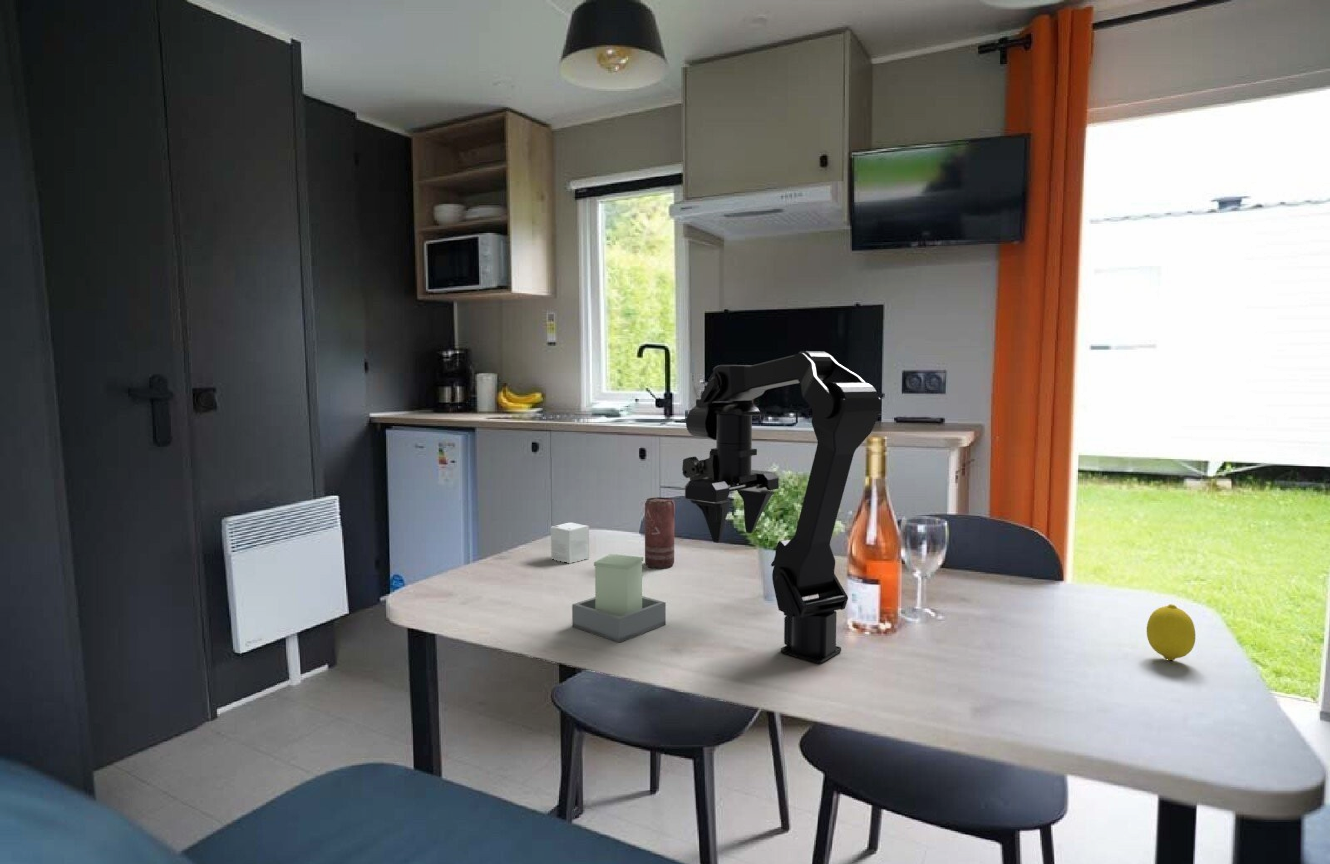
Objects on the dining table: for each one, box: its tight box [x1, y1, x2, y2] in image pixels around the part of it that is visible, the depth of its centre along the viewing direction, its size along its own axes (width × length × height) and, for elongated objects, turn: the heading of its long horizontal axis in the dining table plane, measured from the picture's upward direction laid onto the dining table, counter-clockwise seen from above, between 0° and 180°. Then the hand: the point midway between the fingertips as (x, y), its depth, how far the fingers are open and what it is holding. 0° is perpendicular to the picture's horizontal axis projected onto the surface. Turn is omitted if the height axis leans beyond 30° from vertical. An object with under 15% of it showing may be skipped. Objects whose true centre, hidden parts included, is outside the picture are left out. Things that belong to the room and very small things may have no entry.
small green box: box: [593, 553, 644, 617], centre depth 114 cm, size 6×6×10 cm
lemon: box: [1146, 603, 1196, 661], centre depth 100 cm, size 6×6×8 cm
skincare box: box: [550, 522, 591, 564], centre depth 156 cm, size 6×6×7 cm
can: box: [644, 496, 676, 570], centre depth 151 cm, size 6×6×14 cm
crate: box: [571, 595, 667, 644], centre depth 114 cm, size 10×10×4 cm
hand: (733, 537), depth 118 cm, fingers open, 9 cm apart
